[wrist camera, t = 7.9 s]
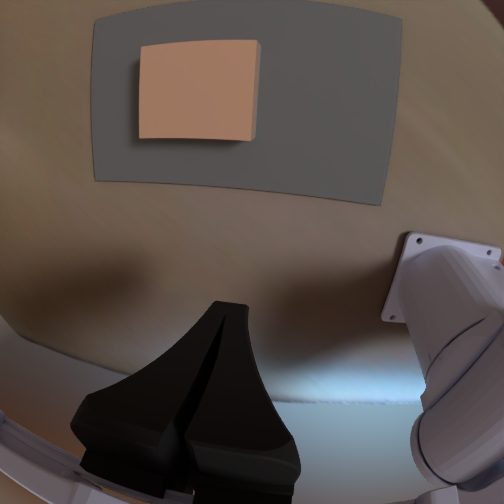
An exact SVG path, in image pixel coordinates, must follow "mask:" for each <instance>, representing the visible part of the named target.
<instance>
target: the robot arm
mask: <svg viewBox="0 0 504 504" xmlns="http://www.w3.org/2000/svg"><path fill="white" fill-rule="evenodd" d="M418 238H421V240H420V241H419V242H416V240H417V239H418ZM488 250H489V252H488V253H487V251H488ZM500 255H501V250H500V248H499V247H496V246H491V245H486V244H481V243H475V242H470V241H465V240H459V239H453V238H448V237H442V236H436V235H430V234H424V233H418V232H410V233H409V234H408V235H407V236H406V239H405V243H404V246H403V250H402V253H401V257H400V260H399V263H398V266H397V270H396V273H395V276H394V279H393V282H392V285H391V288H390V291H389V294H388V296H387V299H386V302H385V305H384V308H383V310H382V313H381V318H382V320H383V321H385V322H399V323H406V325H407V328H408V330H409V333H410V336H411V339H412V342H413V345H414V348H415V351H416V354H417V357H418V360H419V364H420V367H421V370H422V373H423V377H424V380H425V383H426V389H425V391H424V393H423V394H422V395H421V396H420V398H421V402H422V406H423V410H424V412H423V413H422V414H421V415H419V417H418V418H417V419H416V421H415V422H414V425H413V427H412V430H411V437H410V446H411V451H412V456H413V459H414V462H415V464H416V466H417V468H418V469H419V471H420V472H421V474H422V475H423V476H424V477H425V478H426V479H427V480H428V481H429V482H430V483H431V484H433V485H435V486H436V487H438V488H439V489H435V490H431V491H428V492H426V493H423V494H421V495H420V496H418V497H417V498H416V499H412V500H407V501H401V502H394V503H388V504H504V267H503V266H502V265H501V263H500V262H499V261H498V260H499V258H500ZM248 312H249V307H248V306H247V305H245V304H237V303H229V302H221V301H215V302H213V303H212V305H211V306H210V307H209V309H208V310H207V311H206V312H205V313H204V315H203V316H202V317H201V318H200V319H199V320H198V321H197V323H196V324H195V325H194V326H193V327H192V328H191V329H190V330H189V331H188V332H187V333H186V334H185V335H184V336H183V337H182V338H181V339H180V340H179V341H177V342H176V343H175V344H174V345H173V346H172V347H171V348H170V349H169V350H167V351H166V352H165V353H164V354H162V355H161V356H160V357H158V358H157V359H156V360H154V361H153V362H151V363H150V364H149V365H147V366H146V367H144V368H143V369H141V370H139V371H138V372H136V373H134V374H133V375H131V376H129V377H127V378H125V379H123V380H121V381H120V382H118V383H116V384H114V385H111V386H109V387H107V388H104V389H102V390H99V391H97V392H94V393H91V394H88V395H87V396H86V397H85V399H84V400H83V402H82V403H81V405H80V406H79V408H78V410H77V412H76V414H75V415H74V417H73V419H72V421H71V423H70V426H71V430H72V431H73V433H74V434H75V436H76V437H77V438H78V439H79V440H80V442H81V443H82V444H83V445H84V446H85V447H86V451H85V453H84V456H83V458H80V457H77V456H75V455H73V454H71V453H69V452H67V451H65V450H63V449H61V448H59V447H57V446H55V445H53V444H51V443H49V442H48V441H46V440H44V439H42V438H40V437H38V436H37V435H35V434H33V433H31V432H30V431H28V430H26V429H25V428H23V427H21V426H20V425H18V424H17V423H15V422H13V421H12V420H10V419H9V418H7V417H6V415H5V414H4V413H3V411H2V410H1V409H0V470H1V471H2V472H3V473H4V474H6V475H8V476H9V477H10V478H11V479H13V480H14V481H15V482H17V483H18V484H20V485H22V486H23V487H24V488H26V489H27V490H29V491H30V492H32V493H33V494H35V495H36V496H38V497H40V498H41V499H43V500H45V501H46V502H48V503H50V504H137V503H134V502H131V501H128V500H126V499H123V498H120V497H118V496H115V495H112V494H110V493H107V492H105V491H103V490H102V489H101V487H99V486H97V485H100V486H102V487H104V488H107V489H109V490H112V491H115V492H117V493H120V494H122V495H125V496H128V497H131V498H134V499H137V500H140V501H143V502H146V503H149V504H291V502H292V496H293V493H294V484H295V482H296V480H297V479H298V477H299V476H300V473H301V464H300V458H299V454H298V451H297V447H296V444H295V441H294V438H293V436H292V435H291V434H290V432H289V431H288V429H287V428H286V426H285V425H284V423H283V421H282V420H281V418H280V416H279V415H278V413H277V411H276V410H275V407H274V405H273V403H272V401H271V399H270V397H269V395H268V393H267V391H266V389H265V387H264V384H263V382H262V380H261V377H260V374H259V371H258V368H257V365H256V362H255V359H254V355H253V351H252V347H251V342H250V337H249V331H248ZM392 315H394V316H393V317H391V316H392ZM92 482H93V483H92ZM94 483H95V484H97V485H95V484H94ZM193 490H194V491H195V495H193Z"/></svg>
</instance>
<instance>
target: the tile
mask: <svg viewBox="0 0 504 504" xmlns="http://www.w3.org/2000/svg"><path fill="white" fill-rule="evenodd" d="M260 56H261V45H260V44H259V42H258V41H257V40H204V41H188V42H176V43H167V44H158V45H150V46H143V47H141V58H140V82H139V138H200V139H225V140H242V141H251V140H253V139H254V138H255V135H256V119H257V103H258V88H259V72H260Z"/></svg>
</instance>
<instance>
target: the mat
mask: <svg viewBox="0 0 504 504" xmlns="http://www.w3.org/2000/svg"><path fill="white" fill-rule="evenodd" d="M204 40H257V41H258V42H259V44H260V45H261V56H260V72H259V88H258V103H257V119H256V135H255V138H254V139H253V140H251V141H242V140H225V139H200V138H139V82H140V58H141V47H143V46H150V45H158V44H167V43H176V42H188V41H204ZM401 41H402V19H400V18H396V17H393V16H389V15H385V14H381V13H377V12H372V11H368V10H363V9H358V8H353V7H347V6H341V5H335V4H328V3H321V2H312V1H303V0H197V1H188V2H179V3H172V4H165V5H159V6H153V7H147V8H142V9H137V10H132V11H128V12H123V13H119V14H115V15H111V16H107V17H104V18H100V19H97V20H95V27H94V38H93V52H92V73H91V122H92V145H93V159H94V171H95V181H131V182H155V183H174V184H191V185H205V186H218V187H231V188H242V189H253V190H263V191H273V192H282V193H291V194H299V195H307V196H315V197H323V198H331V199H338V200H345V201H352V202H359V203H365V204H372V205H378V206H381V202H382V197H383V192H384V187H385V181H386V176H387V170H388V164H389V159H390V152H391V146H392V139H393V132H394V124H395V116H396V108H397V99H398V88H399V76H400V62H401Z"/></svg>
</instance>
